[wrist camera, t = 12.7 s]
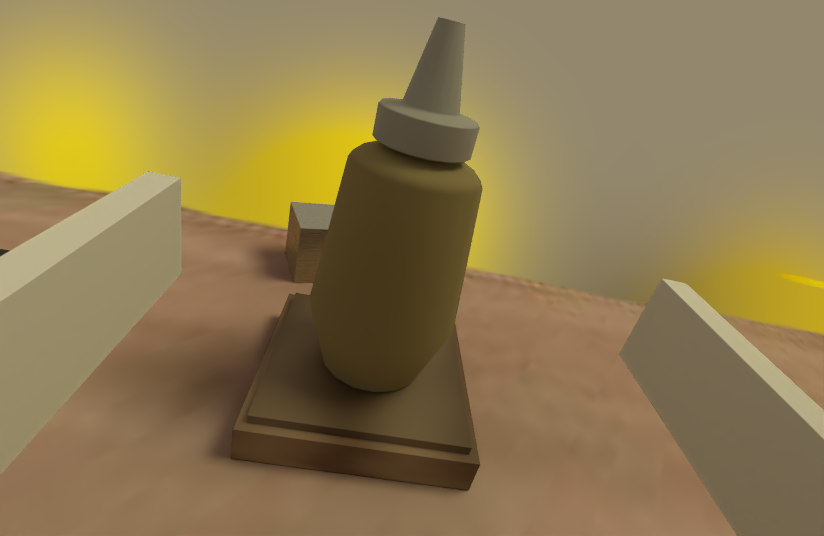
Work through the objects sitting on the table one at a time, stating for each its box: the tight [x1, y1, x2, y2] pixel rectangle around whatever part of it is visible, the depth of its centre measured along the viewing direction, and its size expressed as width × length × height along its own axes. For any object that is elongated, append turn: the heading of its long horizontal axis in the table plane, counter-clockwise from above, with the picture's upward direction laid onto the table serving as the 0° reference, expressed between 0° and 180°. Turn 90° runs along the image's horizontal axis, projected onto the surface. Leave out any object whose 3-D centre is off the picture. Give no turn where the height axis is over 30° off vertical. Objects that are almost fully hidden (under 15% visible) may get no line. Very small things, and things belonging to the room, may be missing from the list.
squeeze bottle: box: [309, 17, 482, 392], centre depth 23 cm, size 8×8×18 cm
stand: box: [231, 293, 480, 490], centre depth 27 cm, size 12×12×2 cm
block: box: [285, 202, 335, 283], centre depth 39 cm, size 5×5×5 cm
